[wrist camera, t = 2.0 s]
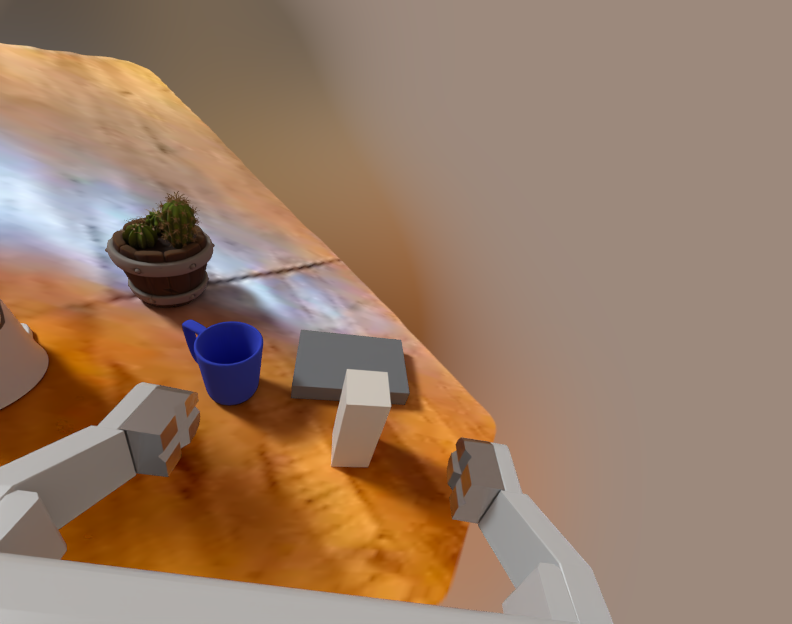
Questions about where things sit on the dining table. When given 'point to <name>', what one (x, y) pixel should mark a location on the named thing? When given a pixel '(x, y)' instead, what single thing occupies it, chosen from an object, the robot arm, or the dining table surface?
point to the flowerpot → (164, 254)
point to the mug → (226, 358)
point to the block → (360, 417)
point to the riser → (345, 364)
